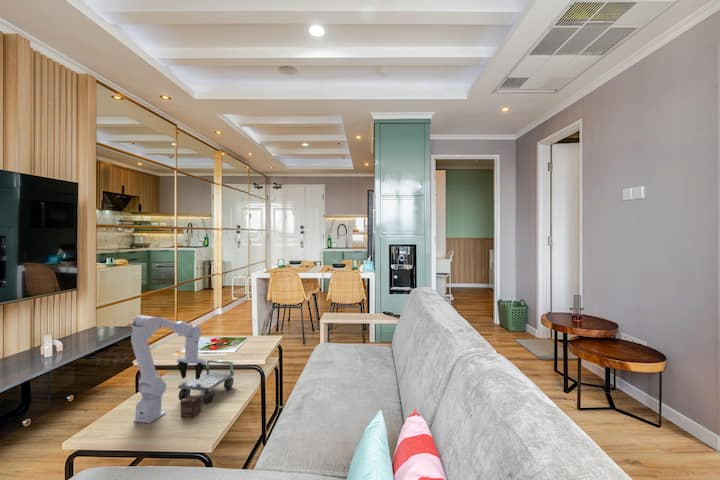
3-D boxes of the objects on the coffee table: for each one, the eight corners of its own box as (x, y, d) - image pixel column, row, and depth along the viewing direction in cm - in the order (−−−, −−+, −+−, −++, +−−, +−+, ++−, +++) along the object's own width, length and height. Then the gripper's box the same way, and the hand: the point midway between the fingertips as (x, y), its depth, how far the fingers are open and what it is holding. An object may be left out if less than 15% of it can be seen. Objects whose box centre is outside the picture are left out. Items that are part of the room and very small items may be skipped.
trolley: (207, 405, 160) (208, 376, 160) (177, 402, 163) (178, 373, 163) (234, 386, 182) (234, 361, 183) (207, 384, 185) (208, 359, 186)
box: (201, 412, 153) (201, 395, 154) (193, 418, 147) (193, 401, 148) (188, 411, 154) (188, 394, 154) (180, 417, 148) (180, 400, 148)
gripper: (210, 348, 171) (209, 376, 170) (184, 347, 174) (183, 374, 173) (201, 352, 164) (200, 381, 163) (174, 351, 167) (173, 379, 166)
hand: (190, 378), depth 168 cm, fingers open, 7 cm apart
